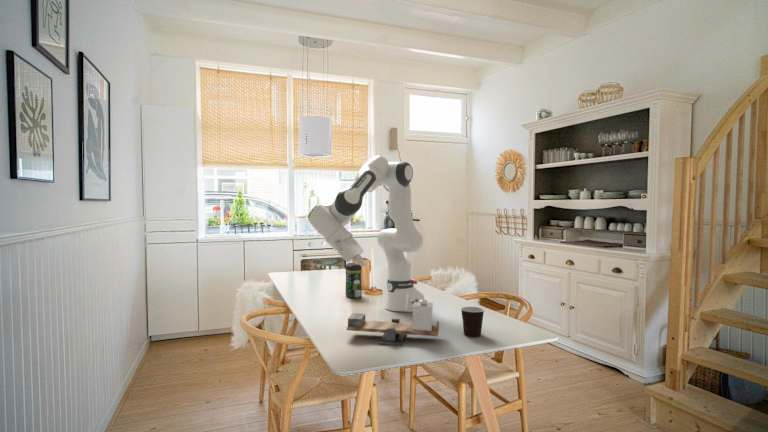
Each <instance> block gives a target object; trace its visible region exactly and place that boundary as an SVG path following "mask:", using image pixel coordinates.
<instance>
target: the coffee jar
mask: <svg viewBox="0 0 768 432" xmlns="http://www.w3.org/2000/svg"><path fill="white" fill-rule="evenodd" d="M362 268H363V267H361V266H360V265H359V264H358V263H357V262H347V263H346V265H345V296H346V297H348V298H349V299H358V298H362Z"/></svg>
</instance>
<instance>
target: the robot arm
mask: <svg viewBox="0 0 768 432" xmlns="http://www.w3.org/2000/svg"><path fill="white" fill-rule="evenodd" d="M413 176H414V170H413V167H412V165H411V164H410V163H409V162H406V161H389V160H388V159H387V158H385V156H382V155H374V156H373V157H371V158H369V160H367V161H366V162H365V163H364V164H363V165H362V166H361V167H360V169H359V170H358V172H357V173H356V175H355V177H354V182H353V183H352V184H351V185H350V186H348V187H346V188H344V189H341V190H340V191H338V193H337V195H336V196H335V199H334V201H333V203H329V204H321V203H318V204H316V205H314V207H313V208H312V209H311V210H310V212H309V214H308V215H307V220H308V221H309V224H310V225H311V226H312V227H313V229H314V230H315V231H316V232H317V234H319V235H320V236H322V237H323V238H324V239H325V242H326V243H327V244H328V245H329V246H330V247H331V248H332V249H333V250H334V251H337V254H339V255H340V256H341V258H342V259H344V261H346V262H347V263H350V262H351V261H354V263H356V264H359V265H360V266H361V268H364V267H365V266H366V264H367V262H366V261H365V259H364V258H363V257H362V254H363V253H364V250H363V248H362V246H361V245H360V244H359V243H358V242H357V240H356V239H355V238H354V235H353V233H351V232H350V231H349V230H348V229H347V228H345V226H347V225H348V224H349V223H350V222H351V221H352V219H353V218H354V216H355V215H356V213H358V211H359V210H360V209H361V207H362V204H363V199H364V196H365V195H366V194H367V193H372V192H374V191H375V190H376V189H377V188H379V186H385V187H389V188H388V189H389V190H388V191H389V192H388V217H389V219H390V220H392V222H394V225H395V227H394V228H393V227H391V228H384V229H382V230H380V231H379V233H378V234H377V244H378V246H379V247H380V248H381V249H382V250H383V252H384V255H385V257H386V262H387V268H388V269H387V270H388V278H387V280H386V281H387V283H386V284H387V294H386V295H387V297H386V302H385V306H384V309H386V310H387V311H392V312H404V313H405V312H406V313H407V312H408V313H411V312H412V313H413V304H414V302H419V300H422V299H423V300H425V295H424V294H423V293H422V292H421V291H420V290H419V289H417V288H416V286H415V285H417V284H418V280H416V279H412V264H411V262H410V260H409V259H407V258H406V255H405V253H413V252H418V251H420V249H421V248H422V247H423V244H424V239H423V238H424V237H423V235H422V233H421V232H420V231H419V230H418V229H417V227H416V226H415V223H414V221H413V220H414V219H413V217H412V216H413V215H412V191H411V190H412V189H411V185H410V183H411V182H412V180H413ZM414 284H415V285H414Z"/></svg>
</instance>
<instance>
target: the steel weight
mask: <svg viewBox="0 0 768 432" xmlns="http://www.w3.org/2000/svg"><path fill="white" fill-rule="evenodd" d="M433 318H434V303H433V302H428V300H427V299H424V300H423V299H422V300H419V302H414V304H413V312H412V323H411V324H412V330H415V331H430V332H431V331H432V325H434V324H433V323H434V322H433Z"/></svg>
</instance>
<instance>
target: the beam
mask: <svg viewBox="0 0 768 432" xmlns="http://www.w3.org/2000/svg"><path fill="white" fill-rule="evenodd" d="M412 324H413V323H409V322H400V323H396V322H392V321H377V320H366V313H360V312H359V313H358V312H357V313H356V312H352V313H351V314H350V315H349V317H348V318H347V326H346V331H351V332H352V331H354V332H366V333H381V334H384V333H387V328H395V334H405V335H412V336H413V335H414V336H427V337H439V331H440V320H436V324H432V331H431V332H430V331H415V330H412Z"/></svg>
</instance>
